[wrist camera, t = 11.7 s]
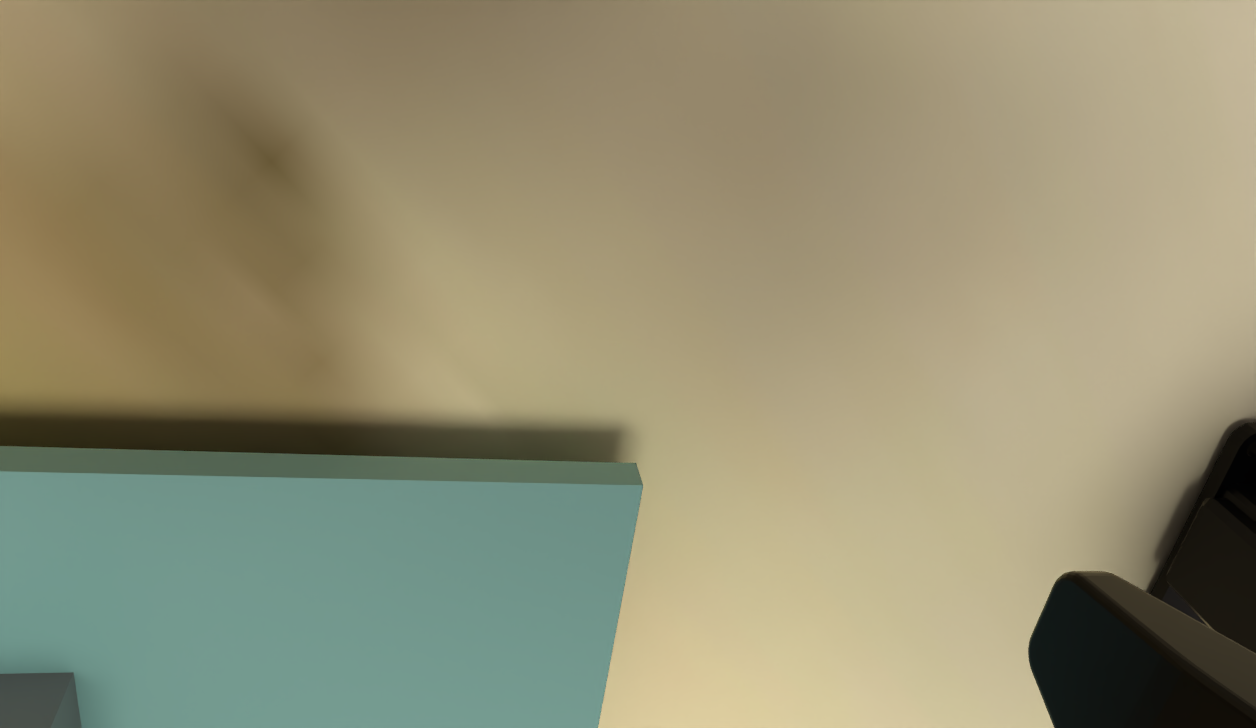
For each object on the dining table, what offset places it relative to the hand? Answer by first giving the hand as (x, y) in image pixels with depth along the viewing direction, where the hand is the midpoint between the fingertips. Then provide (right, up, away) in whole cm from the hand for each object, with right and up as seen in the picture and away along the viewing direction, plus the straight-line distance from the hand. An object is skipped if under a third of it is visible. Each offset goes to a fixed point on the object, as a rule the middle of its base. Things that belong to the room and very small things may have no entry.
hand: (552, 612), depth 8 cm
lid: (-7, -5, +15) cm, 17 cm away
